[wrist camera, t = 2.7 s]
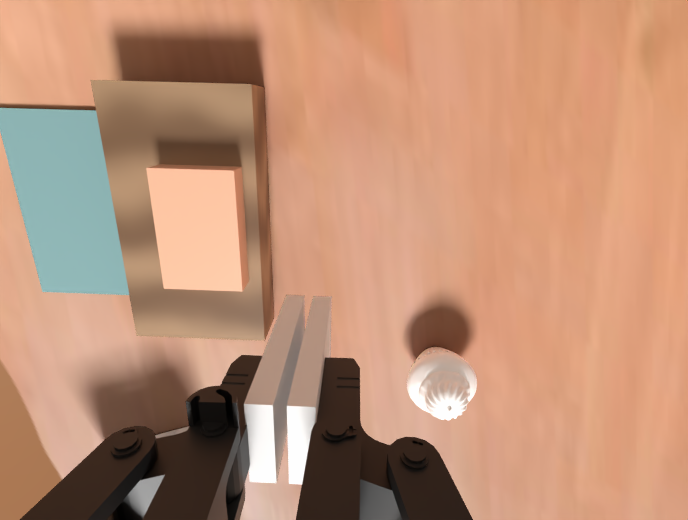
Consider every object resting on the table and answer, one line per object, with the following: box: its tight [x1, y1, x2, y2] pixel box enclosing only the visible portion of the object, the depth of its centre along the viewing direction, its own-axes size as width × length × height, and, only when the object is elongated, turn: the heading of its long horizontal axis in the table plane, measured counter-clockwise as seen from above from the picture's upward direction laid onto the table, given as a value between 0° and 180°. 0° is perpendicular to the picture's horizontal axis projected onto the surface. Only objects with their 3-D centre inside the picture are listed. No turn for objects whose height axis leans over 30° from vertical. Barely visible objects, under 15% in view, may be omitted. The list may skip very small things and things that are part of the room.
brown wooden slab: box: [91, 80, 274, 341], centre depth 32 cm, size 20×11×4 cm, turn 179°
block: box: [146, 164, 249, 292], centre depth 30 cm, size 9×6×2 cm, turn 179°
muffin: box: [407, 347, 477, 420], centre depth 35 cm, size 6×6×7 cm
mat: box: [0, 108, 129, 295], centre depth 34 cm, size 16×11×1 cm
